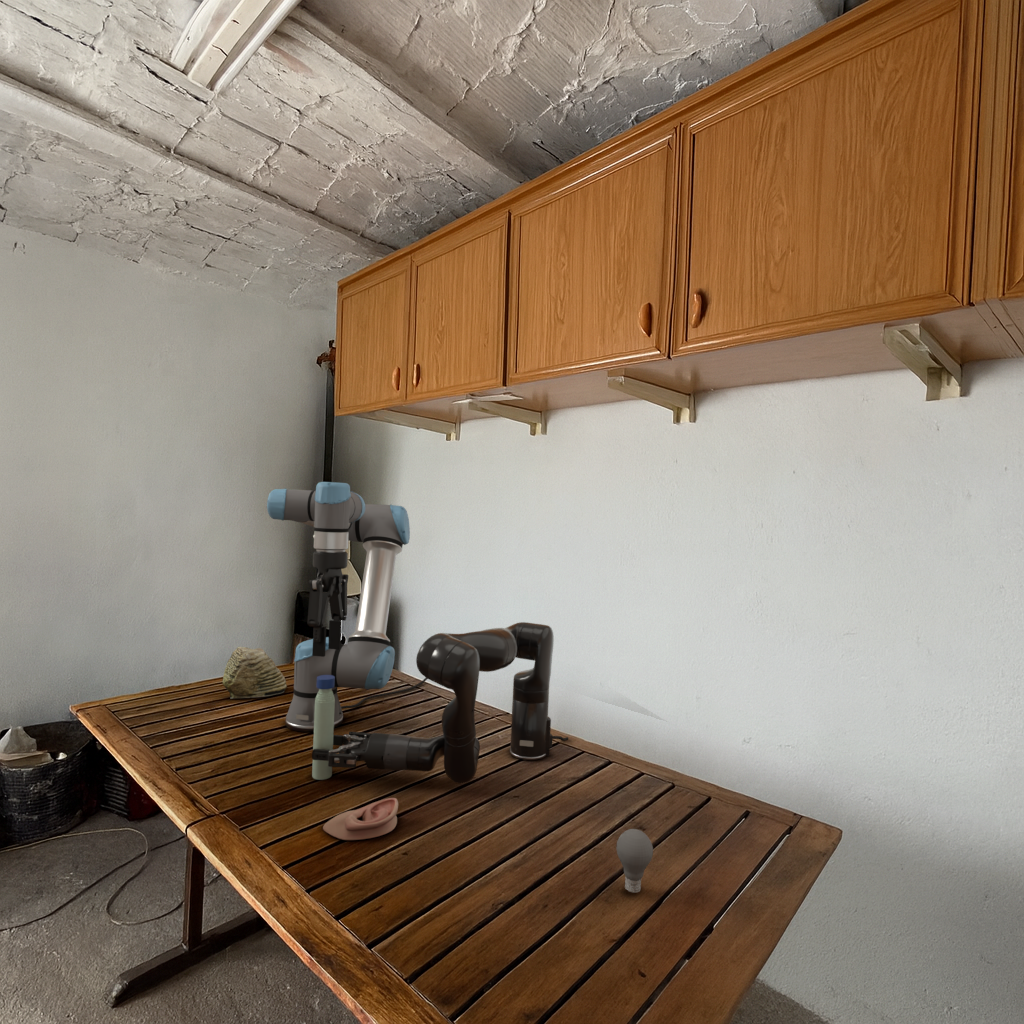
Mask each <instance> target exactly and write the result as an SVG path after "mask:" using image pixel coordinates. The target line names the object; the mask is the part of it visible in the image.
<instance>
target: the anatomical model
mask: <svg viewBox="0 0 1024 1024" xmlns="http://www.w3.org/2000/svg"><path fill="white" fill-rule="evenodd" d="M398 809H399V801H398V799H397V798H396V797H389V798H388V797H387V798H383V799H381V800H378V801H375V802H372V803H369V804H367V805H365V806H363V807H360V808H357V809H353V810H352V809H351V810H348V811H344V812H341V813H340V814H337V815H336V816H333V818H330V819H329V820H328V821H327V822H325V823H324V824H323V826H322V830H323V831H324V832H325V833H326V834H329V835H330V836H332V837H334V838H337V839H339V840H342V841H358V840H359V841H360V840H366V839H373V838H377V837H380V836H383V835H386V834H388V833H390V832H392V831H393V830H394V829H395V828H396V826H397V824H398V817H397V813H398Z"/></svg>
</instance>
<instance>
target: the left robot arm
mask: <svg viewBox="0 0 1024 1024" xmlns="http://www.w3.org/2000/svg"><path fill="white" fill-rule="evenodd" d="M315 486H316V487H315V490H313V489H312V490H309V489H293V488H275V489H273V490H271V491H270V492H269V494H268V496H267V502H266V509H267V510H266V511H267V514H268V515H269V517H270V518H271V519H273V520H280V521H292V522H295V523H300V524H302V525H303V524H304V525H307V526H310V527H313V531H314V533H313V535H312V537H313V549H314V551H313V552H312V567H313V568H314V569H317V574H316V578H315V579H309V581H308V587H309V598H308V607H307V609H308V610H307V622H306V624H307V626H308V627H311V628H313V630H312V639H307V640H304V641H302V642H300V643H298V644H297V645H296V648H295V655H294V659H293V661H294V670H293V671H294V672H293V695H292V696H293V697H292V699H291V702H290V704H289V708H288V711H287V713H286V715H285V726H286V728H287V729H289V730H291V731H294V732H295V731H296V732H301V733H314V713H315V698H316V696H317V693H318V691H319V689H318V688H317V687H316V684H317V677H318V676H321V675H333V676H335V686H334V687H333V688H332V691H333V695H334V697H335V708H334V729H335V728H337V727H339V726H340V725H342V723H343V722H344V714H343V710H344V709H354V708H356V707H358V706H360V705H362V704H363V702H366V701H368V700H370V699H371V700H372V699H374V698H379V697H380V698H381V697H386V696H390V695H394V694H395V695H396V694H401V693H405V692H408V691H411V690H414V689H416V688H418V687H420V686H421V685H423V684H424V683H426V681H427V680H428V679H427V678H426V677H425V678H424V679H423V680H422V681H420V682H418V683H416V684H414V685H413V686H411V687H408V688H404V689H399V690H394V691H390V692H384V693H379V694H378V693H377V694H373V695H369V696H367V697H364V698H362V699H361V700H360V701H359V702H357V703H355V704H350V705H341V702H340V699H339V695H338V688H344V689H345V688H346V689H347V688H348V689H364V690H367V691H369V690H381V689H383V688H384V687H385V686H386V685H387V684H388V683H389V681H390V678H391V675H392V673H393V670H394V664H395V657H396V656H395V655H396V650H395V648H394V647H393V646H391V640H390V638H388V636H387V628H388V627H387V626H388V620H389V611H390V606H391V605H390V604H391V597H392V590H393V581H394V574H395V566H396V559H397V556H398V554H400V553H401V552H402V551H403V545H404V546H405V545H408V544H409V543H410V538H411V537H410V536H411V531H410V529H411V528H410V519H409V518H410V517H409V514H408V511H407V508H405V507H404V506H402V505H397V504H392V503H391V504H375V503H365V500H364V498H363V497H362V496H361V495H360V494H358V493H356V492H354V491H353V490H352V491H351V485H350V484H349V483H347V482H335V481H319V482H318V483H317V484H316V485H315ZM349 541H350V542H355V543H362V547H363V549H364V550H365V552H366V556H365V563H364V569H363V577H362V582H361V590H360V595H359V602H358V609H357V616H356V621H355V622H356V623H355V628H354V632H353V633H351V634H350V635H349V636H348V638H347V644H346V643H345V644H344V643H342V624H343V623H342V621H347V616H348V582H349V574H346V573H343V570H344V569H346V568H347V567H348V560H349V559H348V556H349V553H348V551H346V550H348V549H349ZM328 607H329V608H330V610H329V611H330V617H331V619H330V620H329V621H328V636H327V626H325V623H326V617H327V613H328Z"/></svg>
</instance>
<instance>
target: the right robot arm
mask: <svg viewBox="0 0 1024 1024" xmlns="http://www.w3.org/2000/svg"><path fill="white" fill-rule="evenodd" d="M554 643H555V638H554V631H553V629H552V627H551V626H550V625H547V624H542V623H535V622H525V621H523V622H522V621H519V622H516V623H513V624H511V625H508V626H506V627H493V628H486V629H482V630H477V631H470V632H464V633H451V632H449V633H448V632H439V633H435V634H433V635H431V636H430V637H428V638H427V639H426V640H425V641H424V642H423V643H422V644H421V645H420V647H419V648H418V651H417V653H416V659H415V661H416V663H415V664H416V667H417V670H418V671H419V673H420V674H421V675H422V676H423V677H425V678H427V680H429V681H432V682H433V683H436V684H437V685H440V686H442V687H444V688H446V689H449V690H452V691H453V693H454V695H455V697H454V698H452V699H451V700H450V701H449V702H448V703H447V704H446V706H445V707H444V709H443V711H442V715H441V730H442V735H437V736H433V737H419V736H409V735H404V734H396V733H384V732H383V733H382V732H380V733H379V732H373V733H372V732H371V733H370V732H361V731H349V732H348V733H344V734H343V735H341V734H333V746H339V747H338V748H333V750H327V749H314V750H313V749H312V750H311V759H312V761H313V760H324V761H328V766H329V767H332V768H333V767H334V768H350V769H354V768H356V767H357V762H364V763H365V766H366V768H368V769H372V770H385V771H416V772H431V771H433V770H434V768H435V766H436V764H437V763H438V760H440V758H442V757H443V768H444V769H443V770H444V773H445V775H446V776H447V777H448V779H450V781H452V782H454V783H456V784H466V783H468V782H470V781H471V780H472V779H473V778H474V777H475V776H476V773H477V770H478V764H479V756H480V750H481V749H480V748H481V744H480V740H479V739H478V737H477V730H476V729H477V728H476V727H477V726H476V718H475V707H476V700H477V694H478V686H479V680H480V679H479V678H480V672H481V673H482V672H485V673H489V672H490V673H491V672H496V671H499V670H502V669H505V668H507V667H508V666H510V665H511V664H512V663H513V662H514V661H515V659H521V660H527V661H534V664H533V665H534V666H533V667H532V668H530V669H525V670H521V671H517V672H516V673H515V674H514V675H513V680H512V704H511V725H510V726H511V727H510V728H511V729H510V747H509V753H510V755H511V756H512V757H514V758H516V759H519V760H522V761H538V760H542V759H545V758H546V757H549V756H550V750H551V749H550V748H553V741H554V740H561V741H562V742H567V741H569V737H568V736H566V737H563V736H560V735H553V734H552V733H551V728H552V727H551V726H552V719H551V717H550V716H549V702H550V682H551V676H552V675H551V674H552V663H553V654H554V653H553V652H554V645H555V644H554Z"/></svg>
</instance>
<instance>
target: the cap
mask: <svg viewBox="0 0 1024 1024" xmlns="http://www.w3.org/2000/svg"><path fill="white" fill-rule="evenodd" d="M334 686H335V676H333V675H321V676H318V677H317V684H316V687H317V688H318V689H331V688H333V687H334Z"/></svg>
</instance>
